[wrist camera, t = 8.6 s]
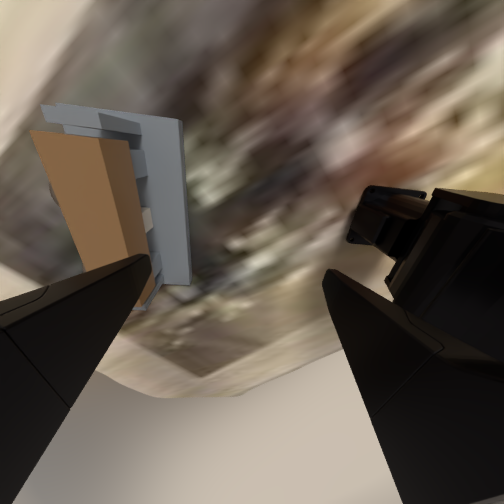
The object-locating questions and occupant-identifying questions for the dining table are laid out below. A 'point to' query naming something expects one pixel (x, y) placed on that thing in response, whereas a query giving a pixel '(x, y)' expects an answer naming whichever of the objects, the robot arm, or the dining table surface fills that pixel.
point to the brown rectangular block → (96, 197)
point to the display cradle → (146, 180)
